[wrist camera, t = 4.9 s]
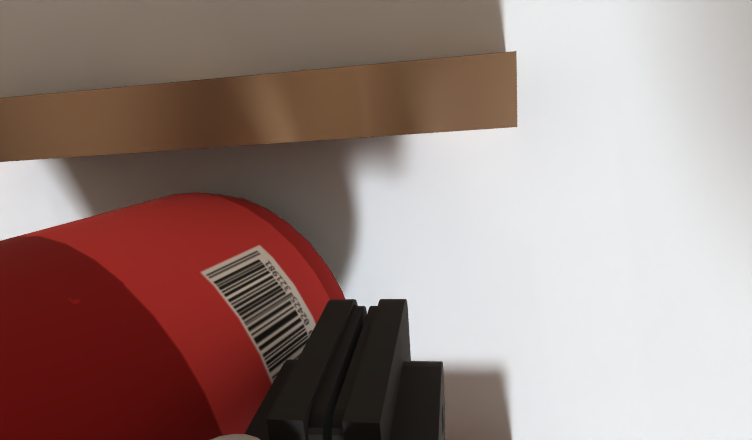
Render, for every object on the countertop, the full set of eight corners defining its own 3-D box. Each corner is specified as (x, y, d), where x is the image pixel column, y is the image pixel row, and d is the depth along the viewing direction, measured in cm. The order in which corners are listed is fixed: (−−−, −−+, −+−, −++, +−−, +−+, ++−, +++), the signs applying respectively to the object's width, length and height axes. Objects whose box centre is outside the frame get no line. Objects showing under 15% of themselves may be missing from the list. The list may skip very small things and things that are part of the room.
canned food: (150, 147, 15) (-722, 293, 6) (402, 253, 12) (-548, 945, 3) (141, 365, 18) (-438, 702, 8) (341, 493, 15) (-207, 1225, 6)
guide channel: (506, 52, 13) (524, 49, 9) (513, 488, 17) (529, 615, 13) (-313, 126, 17) (-530, 146, 14) (-167, 459, 21) (-305, 547, 17)
